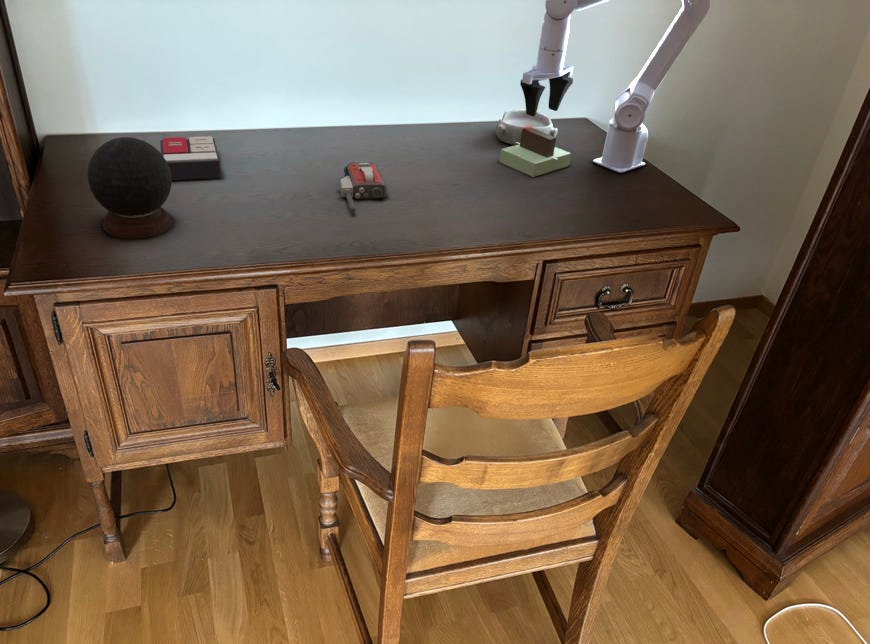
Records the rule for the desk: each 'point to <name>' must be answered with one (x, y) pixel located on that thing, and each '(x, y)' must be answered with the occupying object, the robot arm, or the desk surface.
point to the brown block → (537, 141)
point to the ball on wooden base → (131, 187)
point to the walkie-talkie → (362, 182)
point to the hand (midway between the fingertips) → (541, 112)
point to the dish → (522, 125)
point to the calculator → (191, 157)
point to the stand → (533, 160)
